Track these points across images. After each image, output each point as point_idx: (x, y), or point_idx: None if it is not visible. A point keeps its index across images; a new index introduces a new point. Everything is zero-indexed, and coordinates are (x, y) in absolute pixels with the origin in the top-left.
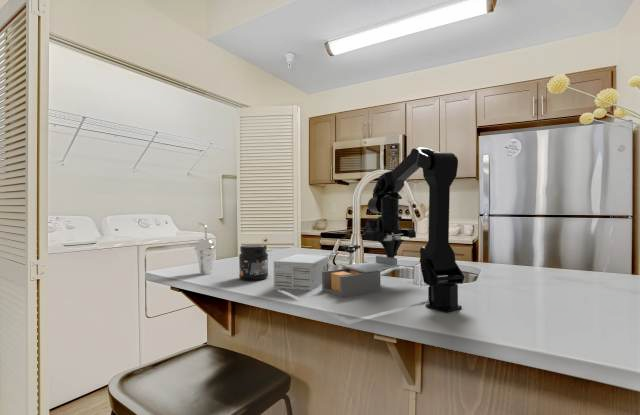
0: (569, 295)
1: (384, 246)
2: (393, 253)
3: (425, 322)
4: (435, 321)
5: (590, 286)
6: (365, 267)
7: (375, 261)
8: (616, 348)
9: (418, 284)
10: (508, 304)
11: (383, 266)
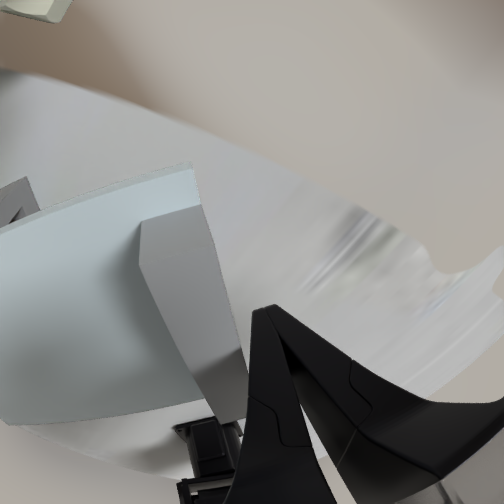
0: (444, 366)
1: (248, 464)
2: (299, 397)
3: (128, 457)
4: (147, 457)
5: (498, 326)
6: (7, 389)
7: (148, 196)
8: None
9: (349, 241)
10: None
11: (122, 400)
